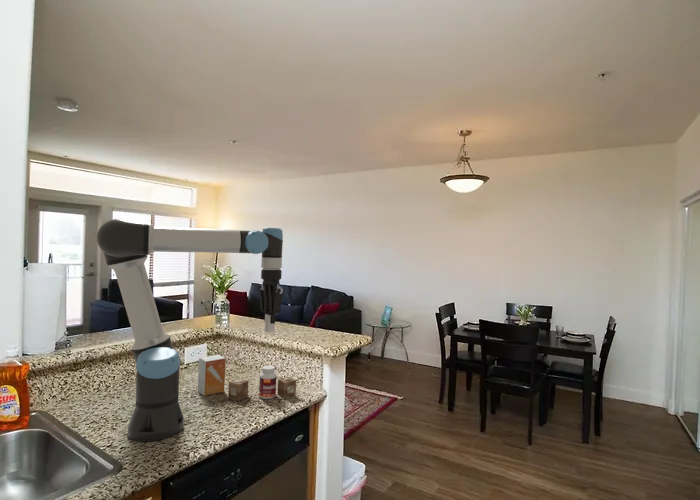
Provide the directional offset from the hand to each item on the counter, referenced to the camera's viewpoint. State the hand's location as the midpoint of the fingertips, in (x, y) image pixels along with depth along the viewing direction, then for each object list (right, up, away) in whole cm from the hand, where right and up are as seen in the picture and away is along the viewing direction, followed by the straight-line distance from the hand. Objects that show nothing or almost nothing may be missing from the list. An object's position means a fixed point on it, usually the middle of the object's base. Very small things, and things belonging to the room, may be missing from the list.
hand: (269, 331), depth 148 cm
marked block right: (+6, -25, +2) cm, 26 cm away
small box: (-23, -24, +3) cm, 33 cm away
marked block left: (-11, -24, -2) cm, 27 cm away
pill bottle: (-1, -25, 0) cm, 25 cm away
